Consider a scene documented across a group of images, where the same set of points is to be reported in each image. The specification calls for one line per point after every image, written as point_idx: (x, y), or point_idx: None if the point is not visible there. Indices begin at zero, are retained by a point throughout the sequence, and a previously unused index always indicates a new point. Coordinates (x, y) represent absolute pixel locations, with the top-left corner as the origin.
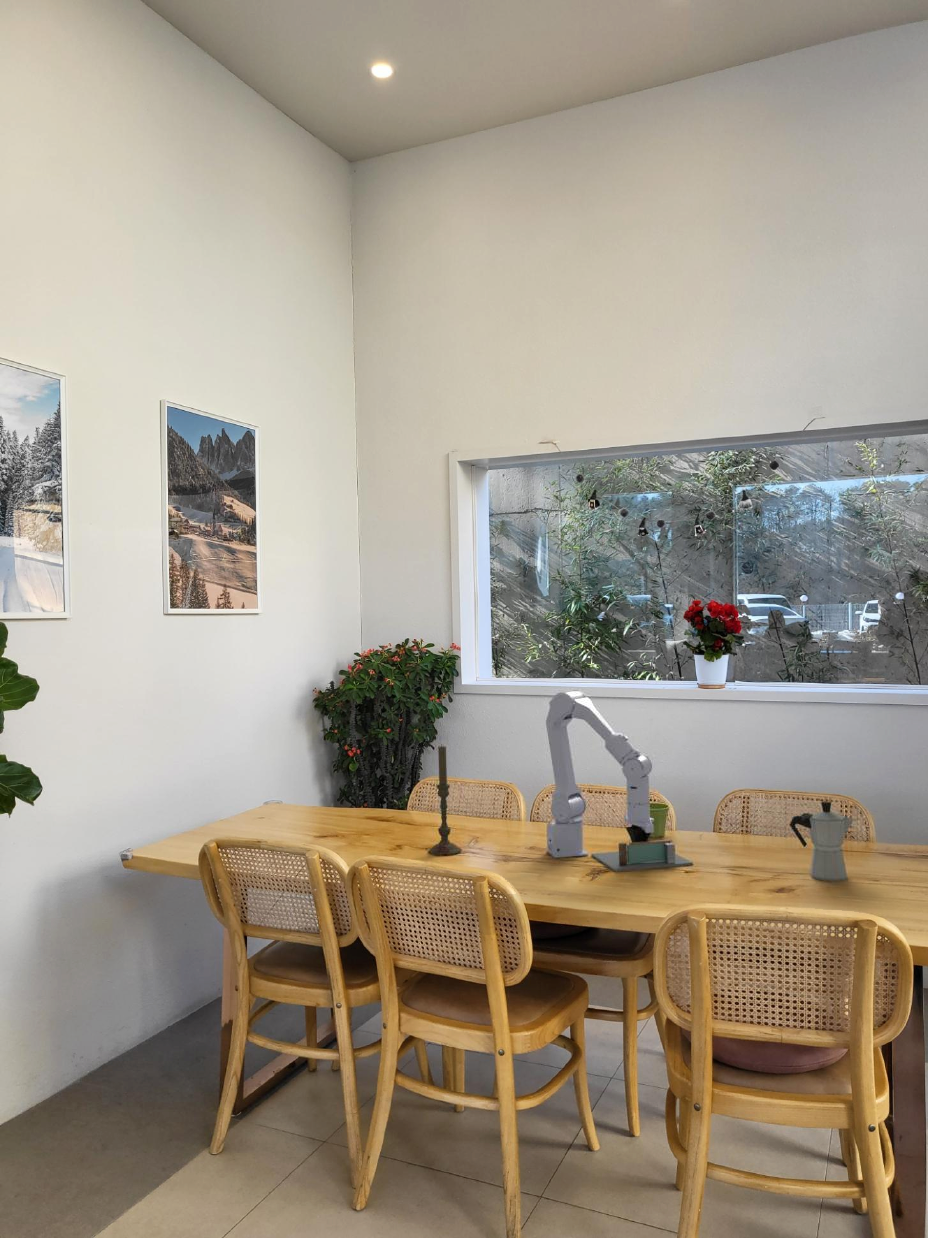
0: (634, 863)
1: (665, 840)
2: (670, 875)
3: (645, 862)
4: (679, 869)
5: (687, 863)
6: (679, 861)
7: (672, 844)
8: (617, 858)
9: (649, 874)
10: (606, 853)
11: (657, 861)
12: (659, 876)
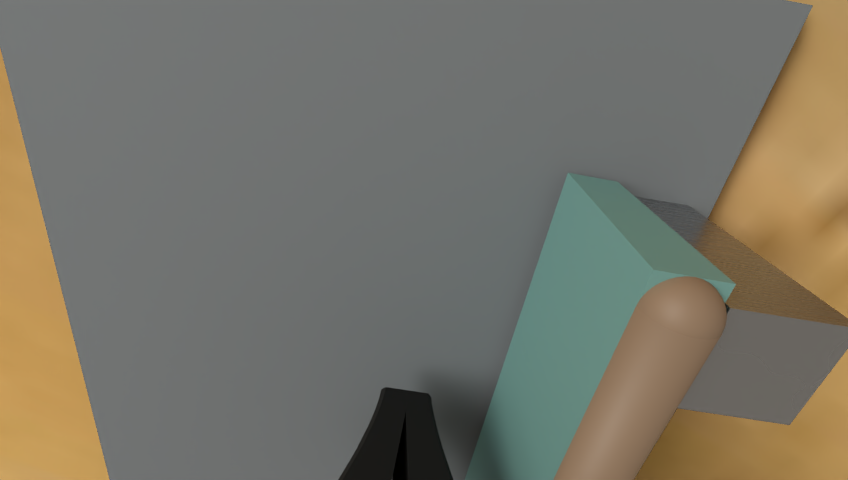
0: (473, 450)
1: (678, 403)
2: (842, 379)
3: (493, 384)
4: (786, 231)
5: (773, 79)
6: (659, 118)
7: (837, 361)
8: (293, 466)
9: (705, 461)
10: (130, 456)
11: (521, 297)
12: (792, 441)
